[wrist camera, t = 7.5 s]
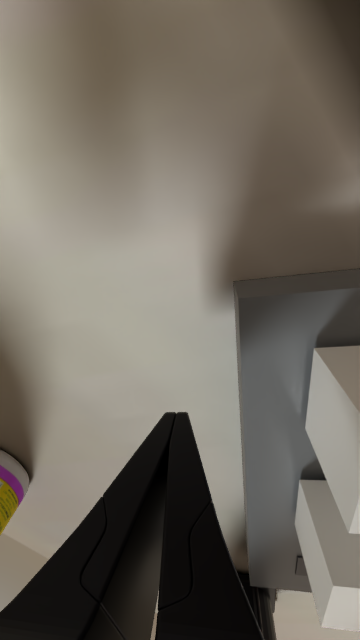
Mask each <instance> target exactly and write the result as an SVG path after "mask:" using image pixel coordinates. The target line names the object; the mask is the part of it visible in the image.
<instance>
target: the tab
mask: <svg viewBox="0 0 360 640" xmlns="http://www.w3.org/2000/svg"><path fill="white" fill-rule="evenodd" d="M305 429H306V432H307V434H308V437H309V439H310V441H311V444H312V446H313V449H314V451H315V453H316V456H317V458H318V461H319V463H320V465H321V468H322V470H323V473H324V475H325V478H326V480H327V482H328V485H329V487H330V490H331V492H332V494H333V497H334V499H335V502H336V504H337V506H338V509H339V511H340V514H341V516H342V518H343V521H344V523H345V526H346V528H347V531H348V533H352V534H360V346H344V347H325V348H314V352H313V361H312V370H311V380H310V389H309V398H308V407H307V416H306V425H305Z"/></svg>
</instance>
